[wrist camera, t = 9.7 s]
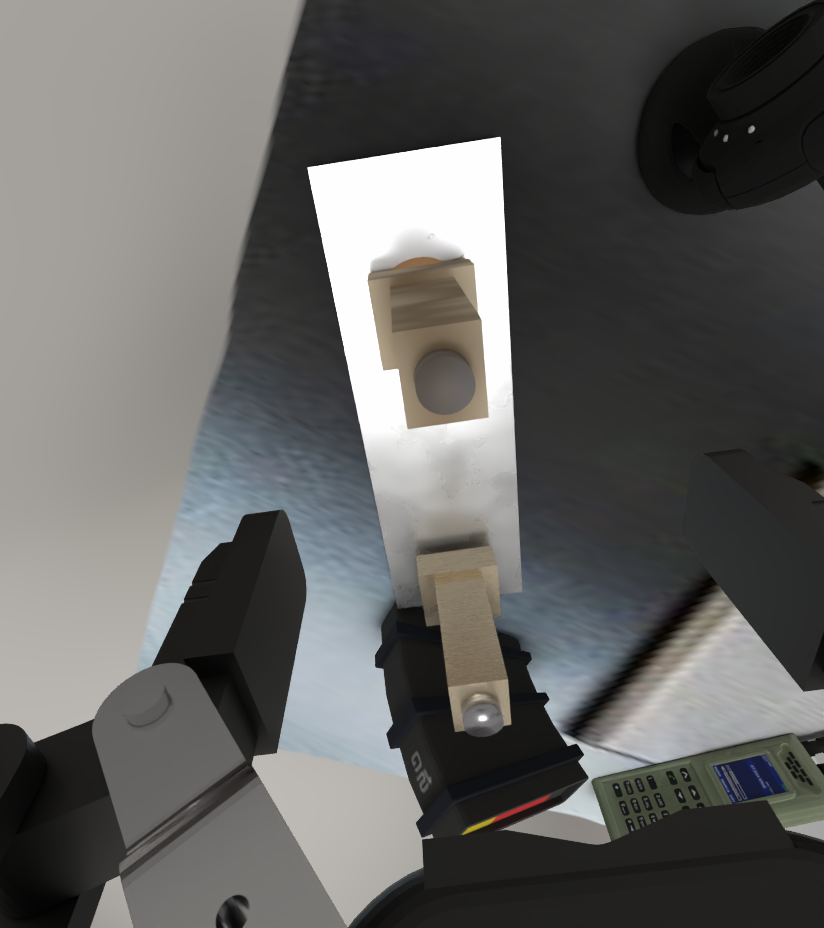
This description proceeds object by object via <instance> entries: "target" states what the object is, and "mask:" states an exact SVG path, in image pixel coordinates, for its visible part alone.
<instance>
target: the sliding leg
mask: <svg viewBox="0 0 824 928" xmlns="http://www.w3.org/2000/svg"><path fill="white" fill-rule="evenodd" d="M367 283H368V289H369V295H370V300H371V306H372V312H373V318H374V324H375V329H376V335H377V341H378V347H379V353H380V359H381V364H382V370H383V371H389V370H395V369H398V372H399V379H400V385H401V391H402V398H403V404H404V410H405V417H406V423H407V429H414V428H421V427H428V426H435V425H442V424H448V423H455V422H462V421H469V420H476V419H483V418H489V412H488V398H487V385H486V371H485V357H484V344H483V330H482V319H481V317H480V316H479V314H478V302H477V289H476V276H475V264H474V263H473V262H472V261H471V260H470V259H469V258H467V259H461V260H454V261H447V262H441V263H434V264H428V265H421V266H415V267H408V268H402V269H395V270H389V271H382V272H375V273H369V274H368V279H367Z"/></svg>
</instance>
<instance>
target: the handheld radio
mask: <svg viewBox="0 0 824 928" xmlns="http://www.w3.org/2000/svg"><path fill="white" fill-rule="evenodd" d="M822 752H823V753H824V737H820V738H816V740H815V741H810V742H808V741H803V742H800V741H799V740H798V738H797V737H796V735H795V734H793V733H792V734H788V735H784V736H779V737H775V738H771V739H766V740H762V741H757V742H753V743H749V744H744V745H740V746H735V747H731V748H727V749H722V750H718V751H713V752H709V753H705V754H700V755H696V756H691V757H687V758H683V759H678V760H674V761H669V762H665V763H661V764H656V765H652V766H648V767H643V768H639V769H635V770H630V771H626V772H621V773H617V774H613V775H608V776H604V777H600V778H595V779H593V780H592V785H593V788H594V791H595V794H596V797H597V800H598V803H599V806H600V809H601V812H602V815H603V818H604V821H605V824H606V827H607V830H608V833H609V836H610V839H611V841H613V840H615V839H618V838H620V837H622V836H624V835H627V834H629V833H631V832H633V831H635V830H638V829H640V828H642V827H644V826H646V825H649V824H651V823H653V822H655V821H657V820H660V819H662V818H664V817H666V816H668V815H671V814H673V813H675V812H677V811H679V810H683V809H692V808H701V807H710V806H718V805H727V804H736V803H744V802H753V801H762V800H767V801H768V802H769V804H770V806H771V807H772V809H773V811H774V812H775V814H776V816H777V817H778V819H779V821H780V822H781V824H782V826H783V827H784V828H787V827H791V826H797V825H801V824H807V823H811V822H816V821H821V820H824V764H817V765H816V764H815V762H814V761H813V760H812V758H811V757H812V756H815V754H818V753H822Z"/></svg>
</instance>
